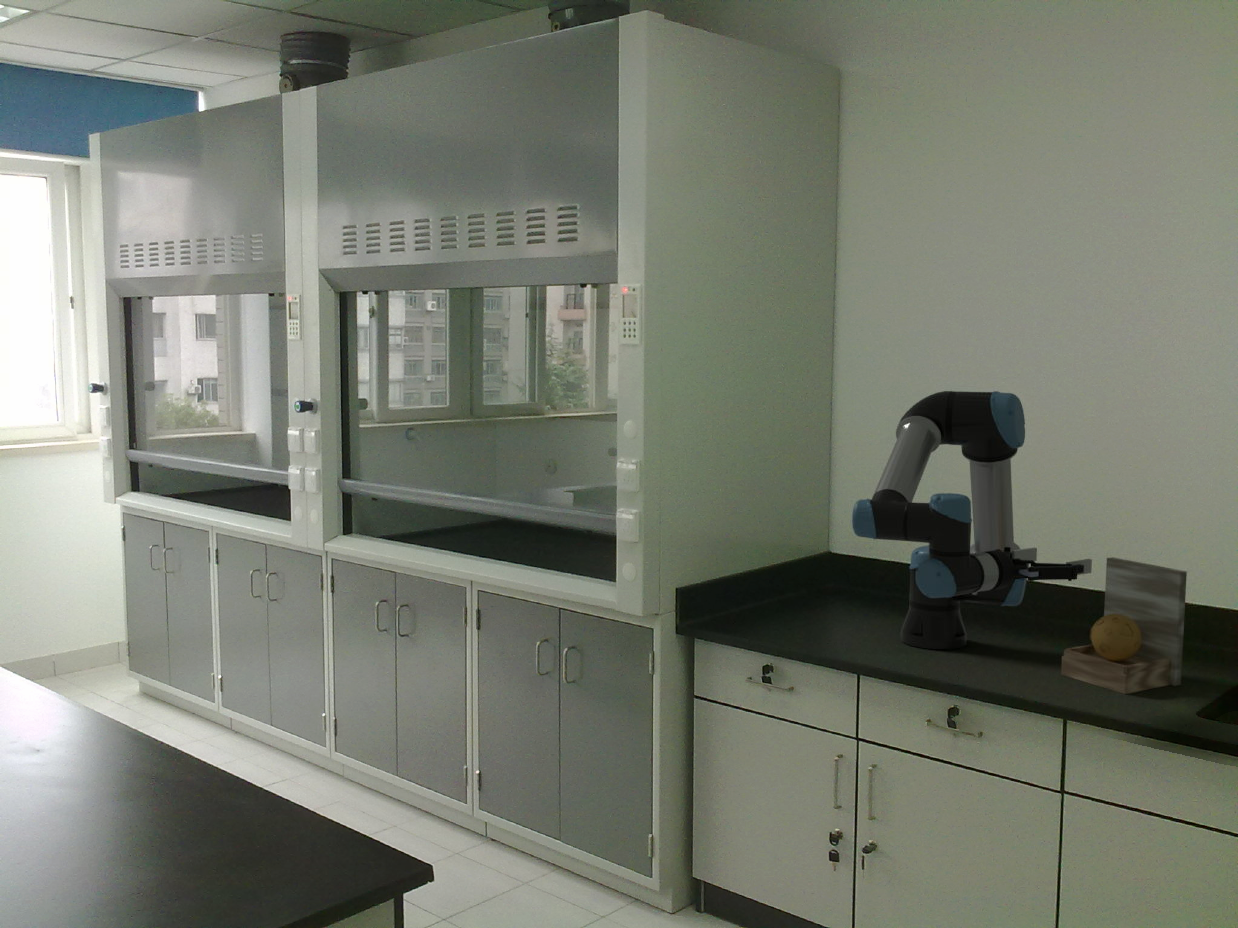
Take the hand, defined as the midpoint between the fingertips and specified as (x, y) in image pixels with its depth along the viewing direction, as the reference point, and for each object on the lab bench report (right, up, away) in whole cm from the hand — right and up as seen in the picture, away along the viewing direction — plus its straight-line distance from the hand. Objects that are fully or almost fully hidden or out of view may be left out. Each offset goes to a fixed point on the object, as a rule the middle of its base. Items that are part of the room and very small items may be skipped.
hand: (1062, 559), depth 235 cm
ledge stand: (+15, -26, +10) cm, 32 cm away
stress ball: (+15, -22, +10) cm, 29 cm away
